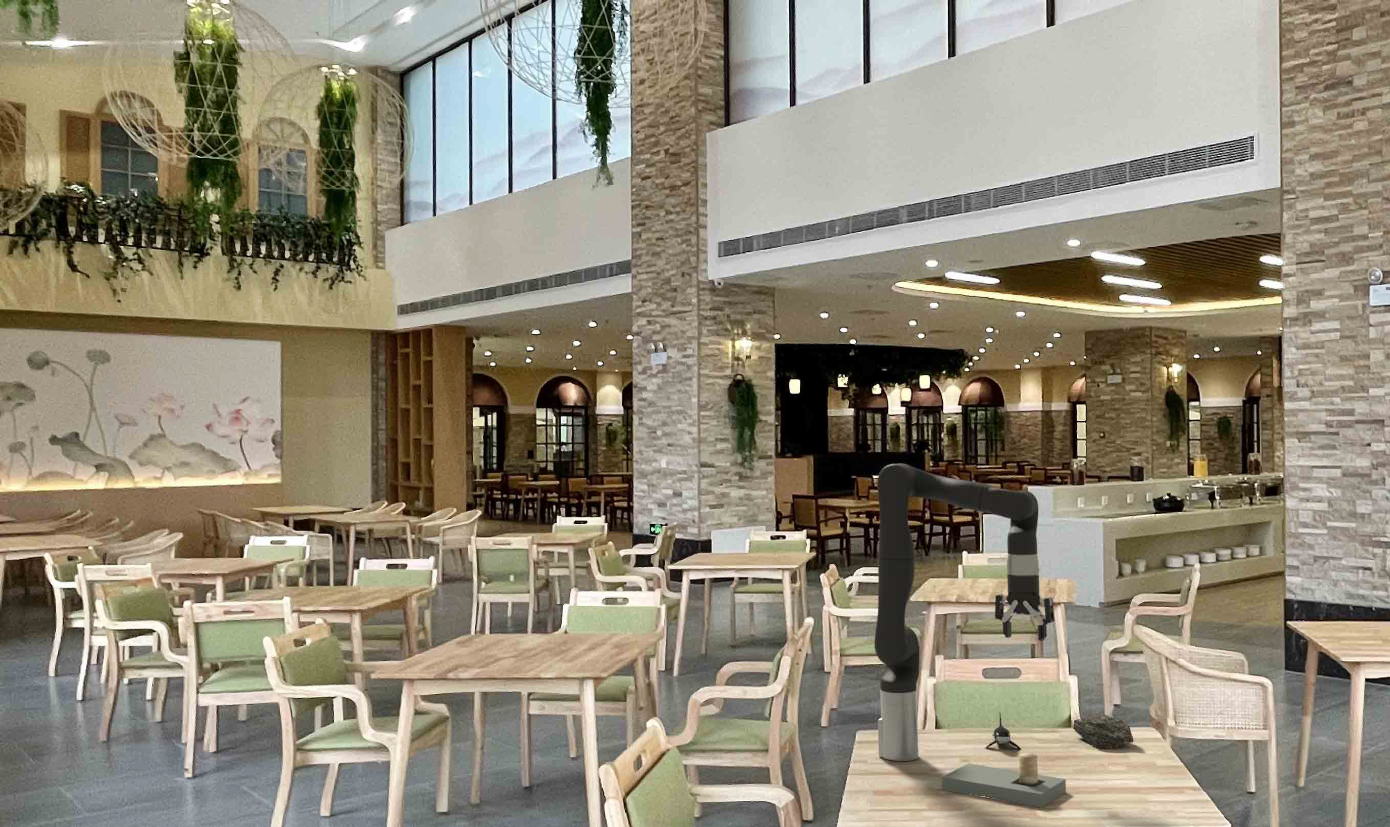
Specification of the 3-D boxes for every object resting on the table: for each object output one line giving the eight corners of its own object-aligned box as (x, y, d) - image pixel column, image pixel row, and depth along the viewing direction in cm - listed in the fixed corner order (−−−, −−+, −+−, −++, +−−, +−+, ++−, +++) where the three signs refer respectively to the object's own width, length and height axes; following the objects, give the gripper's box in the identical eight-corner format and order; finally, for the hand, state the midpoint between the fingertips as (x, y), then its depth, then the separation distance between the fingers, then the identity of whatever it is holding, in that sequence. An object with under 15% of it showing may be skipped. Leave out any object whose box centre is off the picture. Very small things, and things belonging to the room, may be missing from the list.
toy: (1024, 750, 305) (1022, 710, 308) (985, 749, 307) (983, 709, 309) (1016, 749, 325) (1014, 711, 328) (979, 748, 327) (978, 711, 329)
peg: (1016, 796, 270) (1015, 756, 270) (1023, 791, 273) (1022, 752, 273) (1034, 799, 267) (1033, 759, 267) (1041, 794, 270) (1040, 754, 271)
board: (942, 789, 276) (941, 776, 276) (968, 775, 287) (968, 763, 287) (1041, 807, 261) (1041, 794, 261) (1065, 792, 272) (1065, 779, 272)
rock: (1070, 714, 323) (1070, 737, 322) (1096, 728, 307) (1097, 751, 307) (1111, 712, 324) (1112, 735, 324) (1139, 725, 308) (1140, 749, 308)
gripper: (989, 572, 293) (991, 638, 292) (1044, 575, 284) (1046, 643, 283) (1002, 569, 298) (1003, 634, 298) (1057, 572, 290) (1059, 639, 289)
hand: (1024, 638), depth 291 cm, fingers open, 8 cm apart
